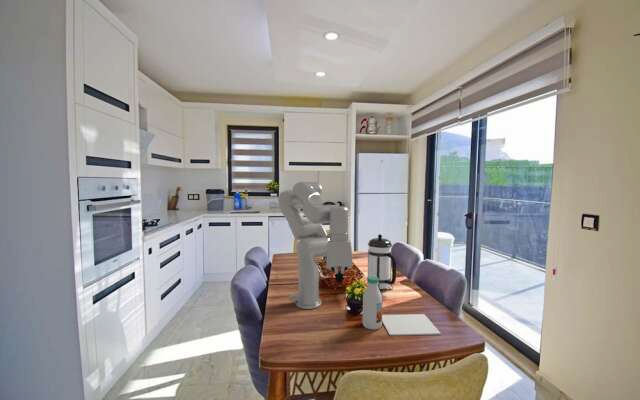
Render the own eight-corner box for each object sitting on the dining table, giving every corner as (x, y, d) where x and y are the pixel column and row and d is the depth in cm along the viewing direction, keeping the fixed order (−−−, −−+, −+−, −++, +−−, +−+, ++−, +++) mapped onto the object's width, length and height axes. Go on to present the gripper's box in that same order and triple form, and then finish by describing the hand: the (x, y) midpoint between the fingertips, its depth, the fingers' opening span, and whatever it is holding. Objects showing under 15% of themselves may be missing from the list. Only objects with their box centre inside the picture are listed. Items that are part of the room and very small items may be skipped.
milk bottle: (370, 332, 114) (371, 282, 113) (358, 323, 121) (359, 276, 120) (385, 327, 118) (386, 279, 116) (373, 319, 125) (374, 273, 123)
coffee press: (362, 291, 156) (362, 236, 154) (368, 281, 170) (369, 231, 168) (395, 296, 149) (396, 238, 147) (399, 286, 164) (400, 233, 162)
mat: (389, 335, 112) (389, 334, 112) (379, 316, 128) (379, 315, 127) (440, 334, 112) (440, 333, 112) (424, 315, 128) (424, 314, 128)
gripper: (320, 239, 112) (321, 286, 113) (359, 238, 113) (359, 285, 114) (319, 236, 120) (320, 280, 120) (356, 235, 120) (356, 279, 121)
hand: (339, 282), depth 117 cm, fingers closed
